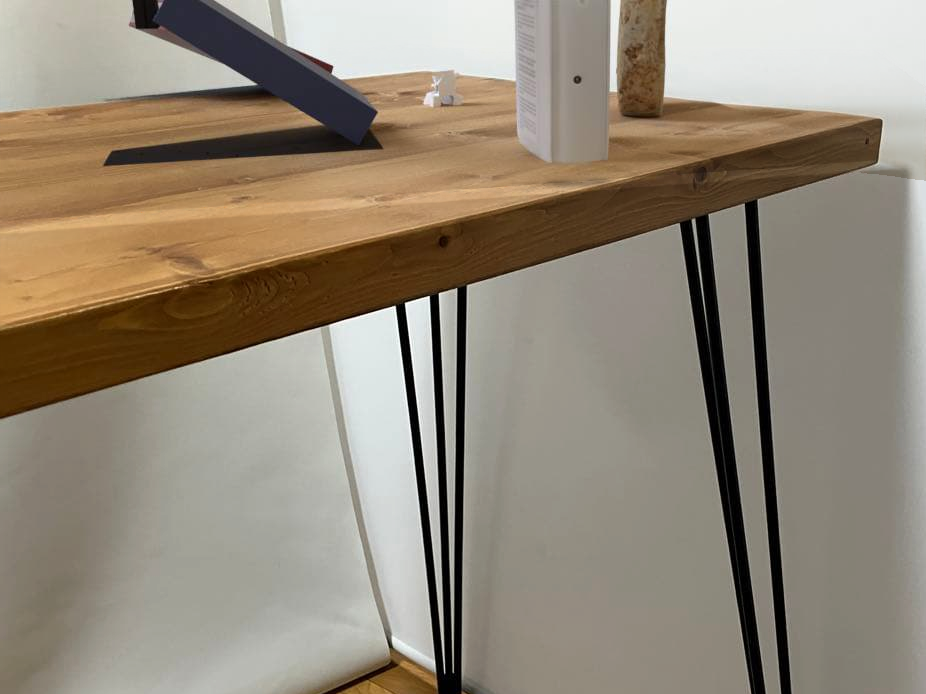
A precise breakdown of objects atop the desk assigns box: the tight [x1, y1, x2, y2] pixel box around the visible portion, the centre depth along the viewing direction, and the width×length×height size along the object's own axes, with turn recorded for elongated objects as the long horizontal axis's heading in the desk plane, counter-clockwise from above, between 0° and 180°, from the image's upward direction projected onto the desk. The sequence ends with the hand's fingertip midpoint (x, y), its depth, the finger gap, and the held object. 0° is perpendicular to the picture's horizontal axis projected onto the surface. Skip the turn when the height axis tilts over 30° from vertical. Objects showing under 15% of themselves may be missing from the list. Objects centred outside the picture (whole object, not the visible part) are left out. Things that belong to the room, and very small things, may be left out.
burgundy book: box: [128, 0, 334, 75], centre depth 95 cm, size 14×10×2 cm
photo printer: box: [513, 0, 612, 164], centre depth 67 cm, size 10×4×12 cm, turn 13°
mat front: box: [103, 125, 385, 167], centre depth 74 cm, size 17×13×1 cm
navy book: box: [153, 0, 379, 146], centre depth 73 cm, size 14×10×2 cm
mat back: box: [103, 84, 277, 107], centre depth 96 cm, size 17×13×1 cm
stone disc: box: [615, 0, 668, 118], centre depth 82 cm, size 10×4×10 cm, turn 171°
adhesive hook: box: [422, 69, 464, 108], centre depth 89 cm, size 3×3×3 cm
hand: (148, 27), depth 70 cm, fingers closed
